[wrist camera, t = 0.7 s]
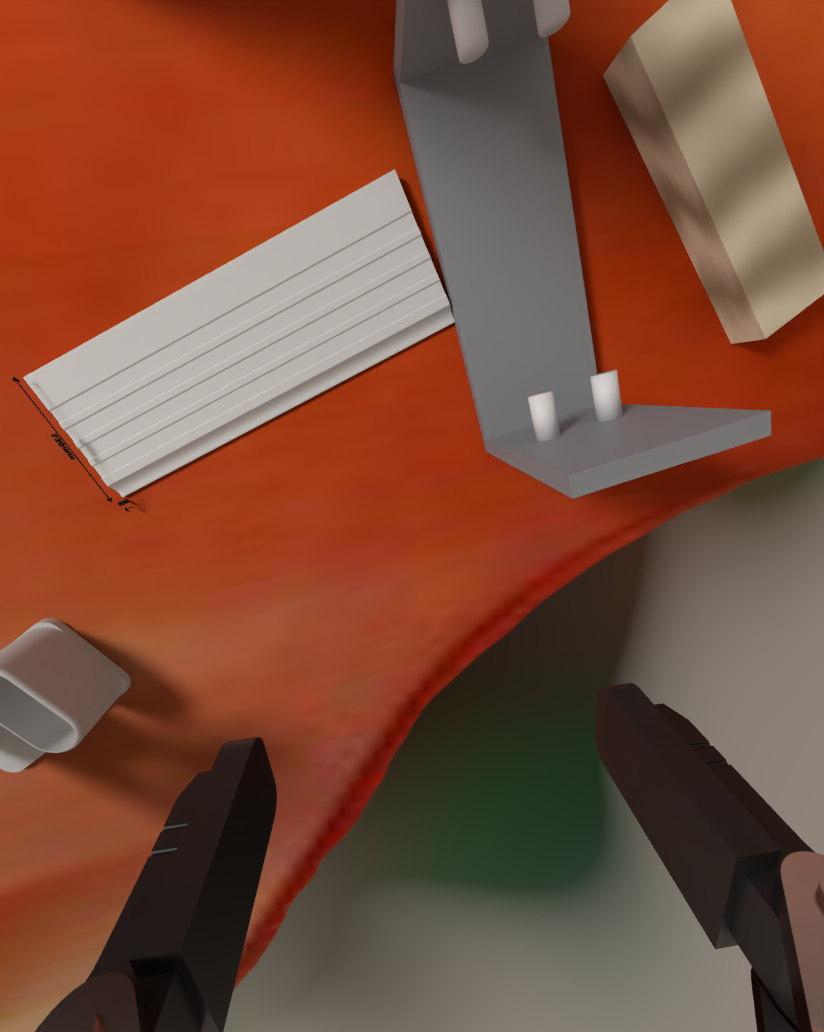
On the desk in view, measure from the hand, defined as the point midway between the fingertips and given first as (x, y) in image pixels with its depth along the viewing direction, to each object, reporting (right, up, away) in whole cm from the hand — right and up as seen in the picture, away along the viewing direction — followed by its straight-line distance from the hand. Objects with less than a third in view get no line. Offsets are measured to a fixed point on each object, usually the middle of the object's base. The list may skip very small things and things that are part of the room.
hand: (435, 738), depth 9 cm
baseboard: (-13, +18, +22) cm, 31 cm away
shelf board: (+22, +30, +21) cm, 42 cm away
